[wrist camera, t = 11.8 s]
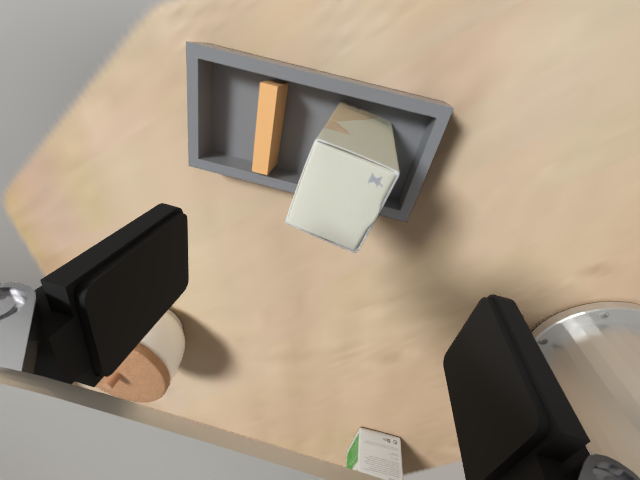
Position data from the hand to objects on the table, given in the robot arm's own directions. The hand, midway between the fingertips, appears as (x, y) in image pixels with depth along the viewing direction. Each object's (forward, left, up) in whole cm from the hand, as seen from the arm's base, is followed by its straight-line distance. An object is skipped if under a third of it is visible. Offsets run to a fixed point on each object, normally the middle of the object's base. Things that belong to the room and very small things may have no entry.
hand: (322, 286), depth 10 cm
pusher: (+7, 0, -17) cm, 19 cm away
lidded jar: (+19, +28, -18) cm, 38 cm away
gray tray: (+4, 0, -18) cm, 18 cm away
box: (0, 0, -18) cm, 18 cm away
